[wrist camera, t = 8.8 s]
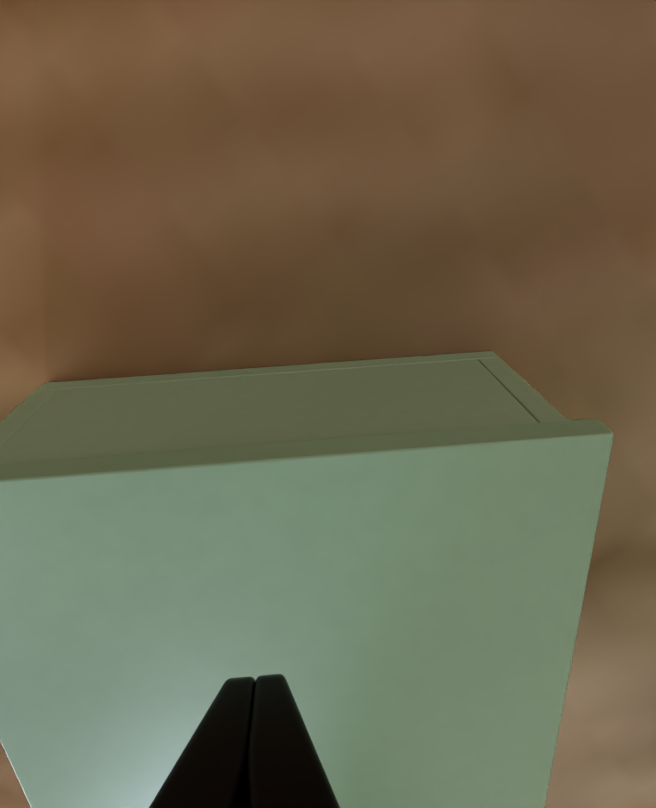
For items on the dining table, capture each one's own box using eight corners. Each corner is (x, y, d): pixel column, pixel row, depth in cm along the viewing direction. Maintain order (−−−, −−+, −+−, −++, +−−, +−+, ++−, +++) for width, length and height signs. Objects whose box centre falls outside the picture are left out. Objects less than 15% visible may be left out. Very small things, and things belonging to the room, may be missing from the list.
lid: (-95, 469, 11) (-117, 489, 11) (598, 416, 12) (615, 433, 11) (76, 863, 18) (68, 890, 17) (529, 818, 18) (538, 843, 17)
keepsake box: (44, 382, 18) (-60, 472, 13) (493, 350, 18) (574, 425, 13) (125, 702, 23) (76, 861, 18) (475, 670, 23) (529, 816, 18)
